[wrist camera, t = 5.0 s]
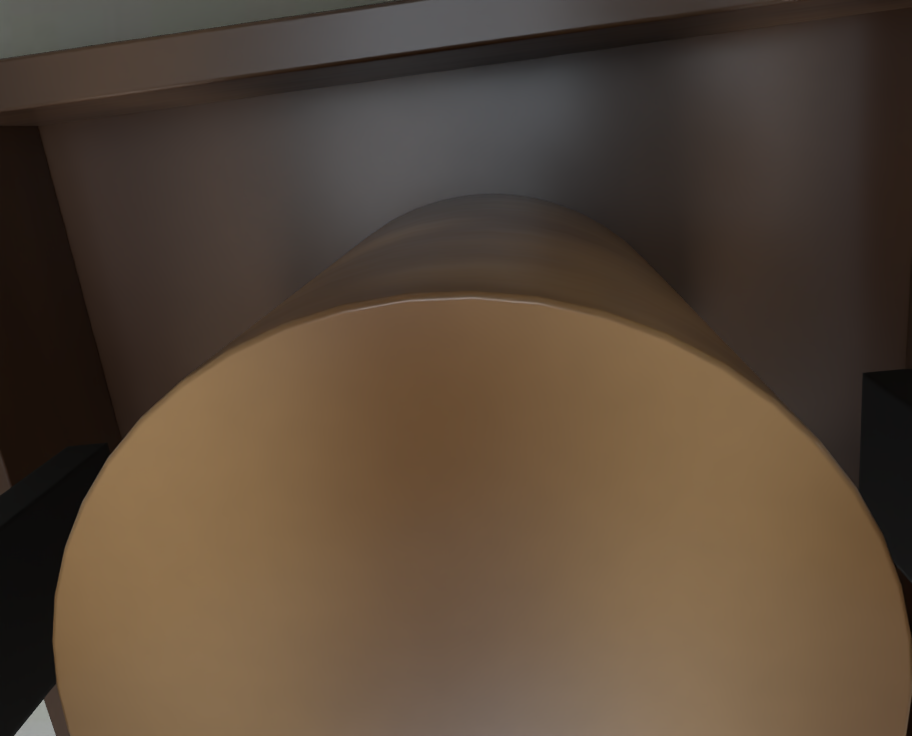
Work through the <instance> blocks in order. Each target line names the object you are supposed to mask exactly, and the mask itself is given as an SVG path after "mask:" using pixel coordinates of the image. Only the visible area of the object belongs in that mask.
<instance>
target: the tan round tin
mask: <svg viewBox="0 0 912 736" xmlns="http://www.w3.org/2000/svg"><path fill="white" fill-rule="evenodd" d="M52 643H53V653H54V663H55V673H56V683H57V689H58V693H59V697H60V701H61V705H62V709H63V713H64V717H65V721H66V725H67V729H68V732H69V734H70V736H906V733H907V726H908V719H909V712H910V705H911V698H912V636H911V631H910V625H909V620H908V615H907V610H906V604H905V599H904V594H903V589H902V584H901V581H900V579H899V576H898V573H897V571H896V568H895V565H894V562H893V560H892V557H891V554H890V551H889V549H888V546H887V543H886V541H885V538H884V535H883V533H882V532H881V530H880V528H879V526H878V524H877V523H876V521H875V519H874V517H873V515H872V514H871V512H870V510H869V508H868V507H867V505H866V503H865V501H864V499H863V498H862V496H861V494H860V492H859V491H858V489H857V487H856V486H855V484H854V483H853V482H852V480H851V479H850V478H849V477H848V475H847V474H846V473H845V472H844V470H843V469H842V468H841V466H840V465H839V464H838V463H837V461H836V460H835V459H834V457H833V456H832V455H831V454H830V452H829V451H828V450H827V449H826V447H825V446H824V445H823V443H822V442H821V441H820V440H819V439H818V438H817V437H816V436H815V435H814V434H813V433H812V432H811V431H810V430H809V428H808V427H807V426H806V425H805V424H804V423H803V422H802V421H801V420H800V419H799V418H798V417H797V416H796V415H795V414H794V413H793V412H792V411H791V410H790V409H789V408H788V407H787V406H786V405H785V404H784V403H783V402H782V401H781V400H780V399H779V398H778V397H777V395H776V394H775V393H774V392H773V391H772V390H771V389H770V388H769V387H768V386H767V385H766V384H765V383H764V382H763V381H762V380H761V379H760V378H759V377H758V376H757V375H756V374H755V373H754V372H753V371H752V370H751V369H750V368H749V367H748V366H747V365H746V363H745V362H744V361H743V360H742V359H741V358H740V357H739V356H738V355H737V354H736V353H735V352H734V351H733V350H732V349H731V348H730V347H729V346H728V345H727V344H726V343H725V342H724V341H723V340H722V339H721V338H720V337H719V336H718V335H717V334H716V333H715V332H714V330H713V329H712V328H711V327H710V326H709V325H708V324H707V323H706V322H705V321H704V320H703V319H702V318H701V317H700V316H699V315H698V314H697V313H696V312H695V311H694V310H693V309H692V308H691V307H690V306H689V305H688V304H687V303H686V302H685V301H684V300H683V298H682V297H681V296H680V295H679V294H678V293H677V292H676V291H675V290H674V289H673V288H672V287H671V286H670V285H669V284H668V283H667V282H666V281H665V280H664V279H663V278H662V277H661V276H660V275H659V274H658V273H657V272H656V271H655V270H654V269H653V268H652V267H651V265H650V264H649V263H648V262H647V261H646V260H645V259H644V258H643V257H642V256H640V255H639V254H638V253H637V252H636V251H635V250H634V249H633V248H632V247H631V246H630V245H629V244H628V243H627V242H626V241H625V240H623V239H622V238H620V237H619V236H618V235H616V234H615V233H613V232H612V231H611V230H609V229H608V228H606V227H605V226H604V225H602V224H600V223H598V222H596V221H594V220H593V219H591V218H589V217H587V216H585V215H583V214H581V213H579V212H577V211H574V210H571V209H569V208H566V207H563V206H561V205H558V204H555V203H552V202H548V201H543V200H539V199H534V198H530V197H525V196H514V195H502V194H488V195H469V196H463V197H458V198H453V199H447V200H442V201H439V202H436V203H433V204H430V205H426V206H423V207H420V208H417V209H415V210H413V211H411V212H408V213H406V214H404V215H402V216H400V217H398V218H396V219H394V220H392V221H390V222H389V223H387V224H386V225H384V226H383V227H381V228H380V229H378V230H377V231H375V232H374V233H372V234H371V235H369V236H368V237H367V238H365V239H364V240H363V241H361V242H360V243H359V244H358V245H356V246H355V247H354V248H352V249H351V250H350V251H349V252H347V253H346V254H345V255H343V256H342V257H341V258H339V259H338V260H337V261H336V262H334V263H333V264H332V265H330V266H329V267H328V268H326V269H325V270H324V271H323V272H321V273H320V274H319V275H317V276H316V277H315V278H314V279H312V280H311V281H310V282H308V283H307V284H306V285H304V286H303V287H302V288H301V289H299V290H298V291H297V292H295V293H294V294H293V295H291V296H290V297H289V298H288V299H286V300H285V301H284V302H282V303H281V304H280V305H278V306H277V307H276V308H275V309H273V310H272V311H271V312H269V313H268V314H267V315H266V316H264V317H263V318H262V319H260V320H259V321H258V322H256V323H255V324H254V325H253V326H251V327H250V328H249V329H247V330H246V331H245V332H243V333H242V334H241V335H240V336H238V337H237V338H236V339H234V340H233V341H232V342H230V343H229V344H228V345H227V346H225V347H224V348H223V349H221V350H220V351H219V352H218V353H216V354H215V355H214V356H212V357H211V358H210V359H208V360H207V361H206V362H205V363H203V364H202V365H201V366H199V367H198V368H197V369H195V370H194V371H193V372H192V373H190V374H189V375H188V376H186V377H185V378H184V379H183V380H181V381H180V382H179V383H178V384H177V385H176V386H175V387H174V388H172V389H171V390H170V391H169V392H168V393H167V394H166V395H165V396H164V397H162V398H161V399H160V400H159V401H158V402H157V403H156V404H155V405H154V406H152V407H151V408H150V409H149V410H148V411H147V412H146V413H145V414H144V415H142V416H141V417H140V419H139V420H138V421H137V422H136V424H135V425H134V426H133V427H132V428H131V430H130V431H129V432H128V433H127V435H126V436H125V437H124V438H123V440H122V441H121V442H120V443H119V444H118V446H117V447H116V448H115V449H114V451H113V452H112V453H111V454H110V455H109V457H108V458H107V460H106V462H105V463H104V465H103V467H102V468H101V470H100V472H99V474H98V475H97V477H96V479H95V480H94V482H93V484H92V486H91V487H90V489H89V491H88V492H87V494H86V496H85V498H84V499H83V501H82V504H81V506H80V509H79V512H78V514H77V517H76V519H75V522H74V524H73V527H72V530H71V532H70V535H69V537H68V540H67V543H66V545H65V549H64V554H63V558H62V563H61V568H60V573H59V577H58V582H57V587H56V591H55V598H54V618H53V638H52Z"/></svg>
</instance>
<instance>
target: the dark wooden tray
mask: <svg viewBox="0 0 912 736" xmlns="http://www.w3.org/2000/svg"><path fill="white" fill-rule="evenodd" d="M488 194H502V195H514V196H525V197H530V198H534V199H539V200H543V201H548V202H552V203H555V204H558V205H561V206H563V207H566V208H569V209H571V210H574V211H577V212H579V213H581V214H583V215H585V216H587V217H589V218H591V219H593V220H594V221H596V222H598V223H600V224H602V225H604V226H605V227H606V228H608V229H609V230H611V231H612V232H613V233H615V234H616V235H618V236H619V237H620V238H622V239H623V240H625V241H626V242H627V243H628V244H629V245H630V246H631V247H632V248H633V249H634V250H635V251H636V252H637V253H638V254H639V255H640V256H642V257H643V258H644V259H645V260H646V261H647V262H648V263H649V264H650V265H651V267H652V268H653V269H654V270H655V271H656V272H657V273H658V274H659V275H660V276H661V277H662V278H663V279H664V280H665V281H666V282H667V283H668V284H669V285H670V286H671V287H672V288H673V289H674V290H675V291H676V292H677V293H678V294H679V295H680V296H681V297H682V298H683V300H684V301H685V302H686V303H687V304H688V305H689V306H690V307H691V308H692V309H693V310H694V311H695V312H696V313H697V314H698V315H699V316H700V317H701V318H702V319H703V320H704V321H705V322H706V323H707V324H708V325H709V326H710V327H711V328H712V329H713V330H714V332H715V333H716V334H717V335H718V336H719V337H720V338H721V339H722V340H723V341H724V342H725V343H726V344H727V345H728V346H729V347H730V348H731V349H732V350H733V351H734V352H735V353H736V354H737V355H738V356H739V357H740V358H741V359H742V360H743V361H744V362H745V363H746V365H747V366H748V367H749V368H750V369H751V370H752V371H753V372H754V373H755V374H756V375H757V376H758V377H759V378H760V379H761V380H762V381H763V382H764V383H765V384H766V385H767V386H768V387H769V388H770V389H771V390H772V391H773V392H774V393H775V394H776V395H777V397H778V398H779V399H780V400H781V401H782V402H783V403H784V404H785V405H786V406H787V407H788V408H789V409H790V410H791V411H792V412H793V413H794V414H795V415H796V416H797V417H798V418H799V419H800V420H801V421H802V422H803V423H804V424H805V425H806V426H807V427H808V428H809V430H810V431H811V432H812V433H813V434H814V435H815V436H816V437H817V438H818V439H819V440H820V441H821V442H822V443H823V445H824V446H825V447H826V449H827V450H828V451H829V452H830V454H831V455H832V456H833V457H834V459H835V460H836V461H837V463H838V464H839V465H840V466H841V468H842V469H843V470H844V472H845V473H846V474H847V475H848V477H849V478H850V479H851V480H852V482H853V483H854V484H855V486H856V487H857V489H858V491H859V469H860V438H861V408H862V378H863V373H866V372H877V371H887V370H898V369H909V368H912V0H398V1H391V2H384V3H377V4H370V5H363V6H357V7H350V8H343V9H336V10H329V11H323V12H316V13H309V14H302V15H295V16H289V17H282V18H275V19H268V20H261V21H255V22H248V23H241V24H234V25H227V26H220V27H214V28H207V29H200V30H193V31H186V32H180V33H173V34H166V35H159V36H152V37H146V38H139V39H132V40H125V41H118V42H112V43H105V44H98V45H91V46H84V47H78V48H71V49H64V50H57V51H50V52H43V53H37V54H30V55H23V56H16V57H9V58H3V59H0V495H1V494H3V493H4V492H6V491H7V490H8V489H10V488H11V487H12V486H14V485H15V484H17V483H18V482H19V481H21V480H22V479H23V478H25V477H26V476H28V475H29V474H30V473H32V472H33V471H34V470H36V469H37V468H39V467H40V466H41V465H43V464H44V463H45V462H47V461H48V460H50V459H51V458H52V457H54V456H55V455H56V454H58V453H59V452H61V451H62V450H63V449H65V448H66V447H67V446H76V445H87V444H98V443H108V446H109V450H110V454H111V453H112V452H113V451H114V449H115V448H116V447H117V446H118V444H119V443H120V442H121V441H122V440H123V438H124V437H125V436H126V435H127V433H128V432H129V431H130V430H131V428H132V427H133V426H134V425H135V424H136V422H137V421H138V420H139V419H140V417H141V416H142V415H144V414H145V413H146V412H147V411H148V410H149V409H150V408H151V407H152V406H154V405H155V404H156V403H157V402H158V401H159V400H160V399H161V398H162V397H164V396H165V395H166V394H167V393H168V392H169V391H170V390H171V389H172V388H174V387H175V386H176V385H177V384H178V383H179V382H180V381H181V380H183V379H184V378H185V377H186V376H188V375H189V374H190V373H192V372H193V371H194V370H195V369H197V368H198V367H199V366H201V365H202V364H203V363H205V362H206V361H207V360H208V359H210V358H211V357H212V356H214V355H215V354H216V353H218V352H219V351H220V350H221V349H223V348H224V347H225V346H227V345H228V344H229V343H230V342H232V341H233V340H234V339H236V338H237V337H238V336H240V335H241V334H242V333H243V332H245V331H246V330H247V329H249V328H250V327H251V326H253V325H254V324H255V323H256V322H258V321H259V320H260V319H262V318H263V317H264V316H266V315H267V314H268V313H269V312H271V311H272V310H273V309H275V308H276V307H277V306H278V305H280V304H281V303H282V302H284V301H285V300H286V299H288V298H289V297H290V296H291V295H293V294H294V293H295V292H297V291H298V290H299V289H301V288H302V287H303V286H304V285H306V284H307V283H308V282H310V281H311V280H312V279H314V278H315V277H316V276H317V275H319V274H320V273H321V272H323V271H324V270H325V269H326V268H328V267H329V266H330V265H332V264H333V263H334V262H336V261H337V260H338V259H339V258H341V257H342V256H343V255H345V254H346V253H347V252H349V251H350V250H351V249H352V248H354V247H355V246H356V245H358V244H359V243H360V242H361V241H363V240H364V239H365V238H367V237H368V236H369V235H371V234H372V233H374V232H375V231H377V230H378V229H380V228H381V227H383V226H384V225H386V224H387V223H389V222H390V221H392V220H394V219H396V218H398V217H400V216H402V215H404V214H406V213H408V212H411V211H413V210H415V209H417V208H420V207H423V206H426V205H430V204H433V203H436V202H439V201H442V200H447V199H453V198H458V197H463V196H469V195H488ZM894 565H895V564H894ZM895 568H896V571H897V573H898V576H899V579H900V581H901V584H902V589H903V594H904V599H905V604H906V610H907V615H908V620H909V625H910V631H911V636H912V583H911V582H910V581H909V580H908V579H907V577H906V576H905V575H904V574H903V573H902V572H901V571H900V569H899V568H898V567H897V566H896V565H895ZM44 701H45V704H46V707H47V710H48V713H49V716H50V719H51V722H52V725H53V728H54V731H55V734H56V736H70V734H69V732H68V729H67V725H66V721H65V717H64V713H63V709H62V705H61V701H60V697H59V693H58V689H57V683H56V684H55V686H54V687H53V688H52V689H51V691H50V692H49V693H48V694H47V695H46V697H45V698H44ZM906 736H912V698H911V705H910V712H909V719H908V726H907V733H906Z"/></svg>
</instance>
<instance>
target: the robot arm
mask: <svg viewBox="0 0 912 736" xmlns="http://www.w3.org/2000/svg"><path fill="white" fill-rule="evenodd" d="M109 455H110V450H109V446H108V443H98V444H87V445H76V446H67V447H66V448H65V449H63V450H62V451H61V452H59V453H58V454H56V455H55V456H54V457H52V458H51V459H50V460H48V461H47V462H45V463H44V464H43V465H41V466H40V467H39V468H37V469H36V470H34V471H33V472H32V473H30V474H29V475H28V476H26V477H25V478H23V479H22V480H21V481H19V482H18V483H17V484H15V485H14V486H12V487H11V488H10V489H8V490H7V491H6V492H4V493H3V494H1V495H0V736H14V735H15V734H16V732H17V731H18V730H19V729H20V728H21V726H22V725H23V724H24V723H25V721H26V720H27V719H28V718H29V716H30V715H31V714H32V713H33V712H34V710H35V709H36V708H37V707H38V705H39V704H40V703H41V702H42V700H43V699H44V698H45V697H46V695H47V694H48V693H49V692H50V691H51V689H52V688H53V687H54V686H55V684H56V673H55V663H54V653H53V643H52V638H53V618H54V598H55V591H56V587H57V582H58V577H59V573H60V568H61V563H62V558H63V554H64V549H65V545H66V543H67V540H68V537H69V535H70V532H71V530H72V527H73V524H74V522H75V519H76V517H77V514H78V512H79V509H80V506H81V504H82V501H83V499H84V498H85V496H86V494H87V492H88V491H89V489H90V487H91V486H92V484H93V482H94V480H95V479H96V477H97V475H98V474H99V472H100V470H101V468H102V467H103V465H104V463H105V462H106V460H107V458H108V457H109ZM859 492H860V494H861V496H862V498H863V499H864V501H865V503H866V505H867V507H868V508H869V510H870V512H871V514H872V515H873V517H874V519H875V521H876V523H877V524H878V526H879V528H880V530H881V532H882V533H883V535H884V538H885V541H886V543H887V546H888V549H889V551H890V554H891V557H892V560H893V562H894V564H895V565H896V566H897V567H898V568H899V569H900V571H901V572H902V573H903V574H904V575H905V576H906V577H907V579H908V580H909V581H910V582H911V583H912V368H909V369H898V370H887V371H877V372H866V373H863V378H862V408H861V438H860V469H859Z"/></svg>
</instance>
